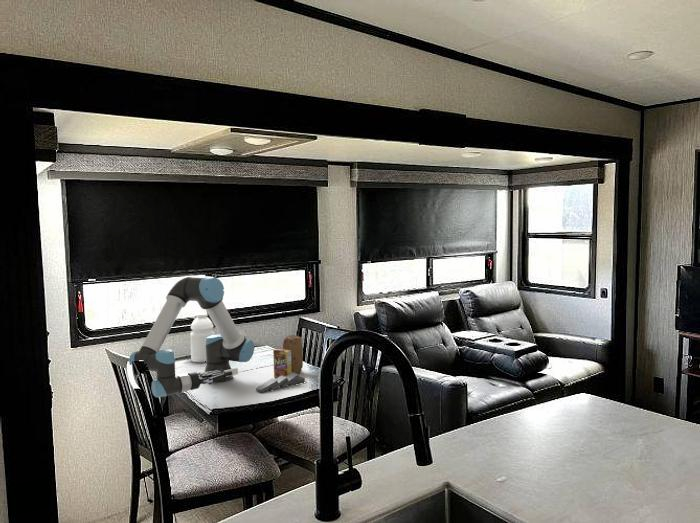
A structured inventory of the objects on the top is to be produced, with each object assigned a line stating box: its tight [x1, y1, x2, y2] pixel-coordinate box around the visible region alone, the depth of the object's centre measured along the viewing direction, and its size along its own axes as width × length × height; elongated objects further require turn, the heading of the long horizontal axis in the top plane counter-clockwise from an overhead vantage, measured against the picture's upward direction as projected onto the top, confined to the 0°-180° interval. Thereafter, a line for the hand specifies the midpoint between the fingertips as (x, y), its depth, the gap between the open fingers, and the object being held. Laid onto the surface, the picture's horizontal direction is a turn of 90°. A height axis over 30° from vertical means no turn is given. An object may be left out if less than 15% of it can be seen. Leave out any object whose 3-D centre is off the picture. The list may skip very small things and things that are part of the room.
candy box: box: [272, 348, 292, 379], centre depth 285 cm, size 9×4×15 cm, turn 61°
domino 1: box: [255, 377, 278, 394], centre depth 265 cm, size 5×2×10 cm
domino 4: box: [288, 375, 306, 385], centre depth 277 cm, size 5×2×10 cm
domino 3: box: [279, 372, 300, 389], centre depth 272 cm, size 5×2×10 cm
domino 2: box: [270, 375, 288, 391], centre depth 269 cm, size 5×2×10 cm
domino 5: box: [287, 380, 306, 387], centre depth 276 cm, size 5×2×10 cm
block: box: [282, 334, 304, 375], centre depth 295 cm, size 11×8×20 cm
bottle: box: [189, 312, 215, 363], centre depth 324 cm, size 14×14×28 cm
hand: (237, 371), depth 255 cm, fingers closed
